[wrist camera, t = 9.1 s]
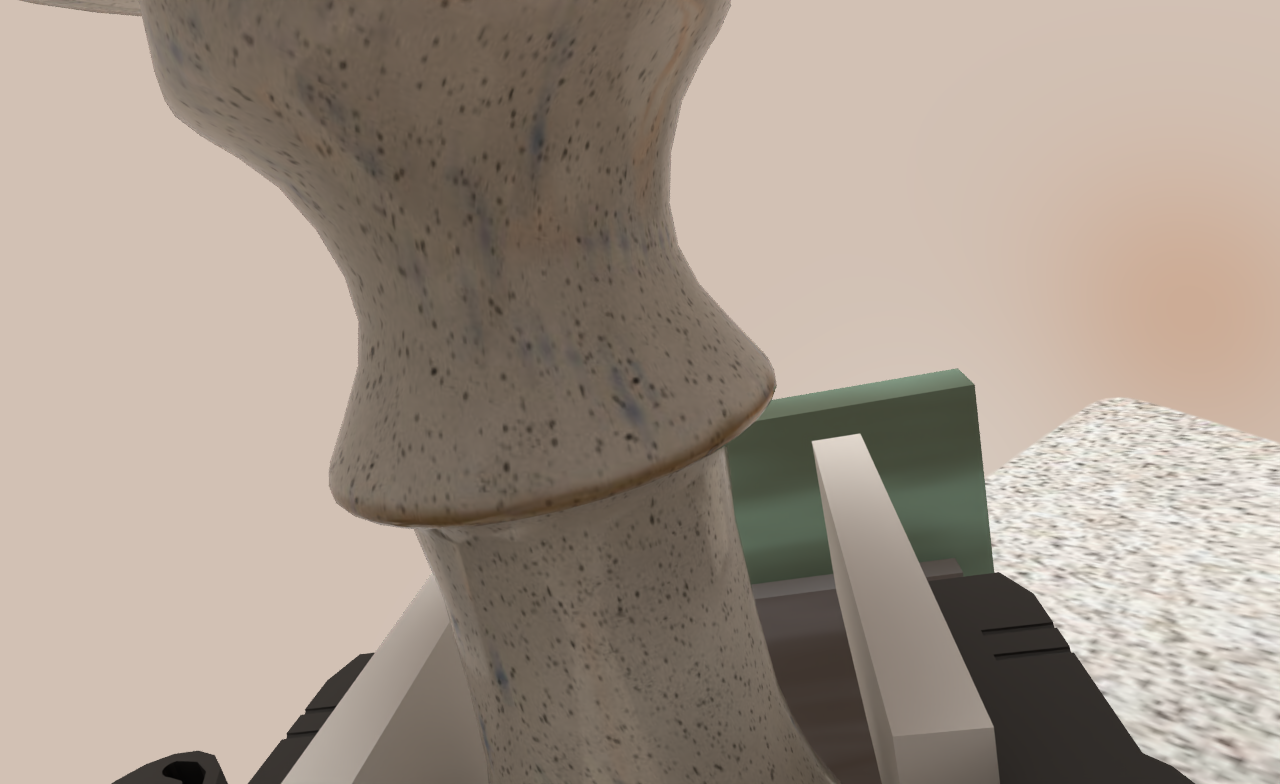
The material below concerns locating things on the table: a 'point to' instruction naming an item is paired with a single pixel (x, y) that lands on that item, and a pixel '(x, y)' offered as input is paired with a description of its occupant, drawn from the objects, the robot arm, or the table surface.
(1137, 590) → the table surface
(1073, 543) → the table surface
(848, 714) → the wooden bookend
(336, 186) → the candle holder
